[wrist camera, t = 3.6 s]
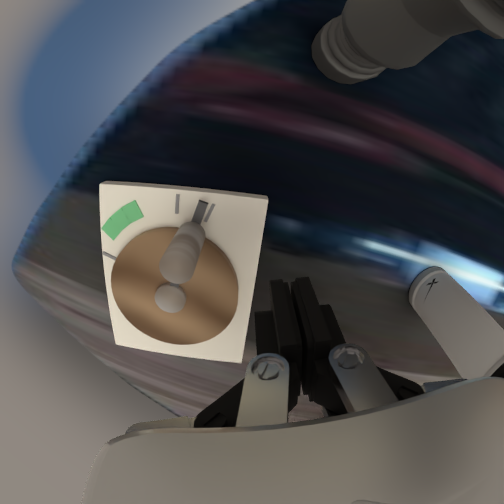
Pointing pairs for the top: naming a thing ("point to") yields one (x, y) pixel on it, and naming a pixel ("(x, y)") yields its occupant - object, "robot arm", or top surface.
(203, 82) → the top surface
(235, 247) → the dial plate
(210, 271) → the dial
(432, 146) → the top surface
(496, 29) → the candle holder
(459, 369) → the travel mug
